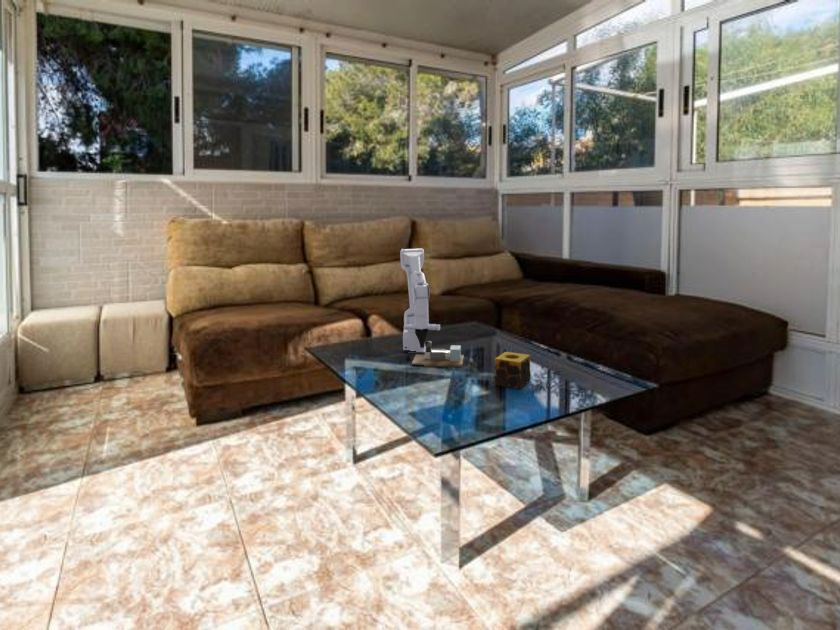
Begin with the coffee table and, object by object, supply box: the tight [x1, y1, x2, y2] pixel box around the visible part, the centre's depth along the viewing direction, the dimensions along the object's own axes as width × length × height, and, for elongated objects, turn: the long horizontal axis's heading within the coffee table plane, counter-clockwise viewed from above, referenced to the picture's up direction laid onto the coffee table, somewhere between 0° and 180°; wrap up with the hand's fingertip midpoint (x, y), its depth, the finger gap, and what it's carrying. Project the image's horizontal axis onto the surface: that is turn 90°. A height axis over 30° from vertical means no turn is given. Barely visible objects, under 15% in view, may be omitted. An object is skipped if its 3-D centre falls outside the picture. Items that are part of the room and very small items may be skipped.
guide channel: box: [430, 348, 447, 361], centre depth 227 cm, size 6×5×4 cm
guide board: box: [411, 354, 465, 367], centre depth 227 cm, size 20×12×1 cm, turn 82°
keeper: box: [449, 344, 462, 362], centre depth 226 cm, size 4×6×5 cm, turn 172°
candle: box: [493, 351, 531, 390], centre depth 199 cm, size 10×10×10 cm
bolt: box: [424, 340, 450, 360], centre depth 226 cm, size 12×3×7 cm, turn 82°
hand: (422, 347), depth 227 cm, fingers closed
